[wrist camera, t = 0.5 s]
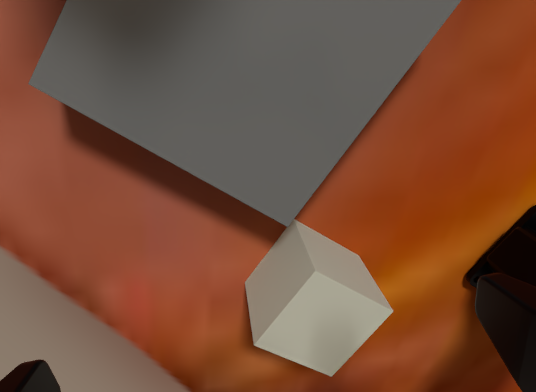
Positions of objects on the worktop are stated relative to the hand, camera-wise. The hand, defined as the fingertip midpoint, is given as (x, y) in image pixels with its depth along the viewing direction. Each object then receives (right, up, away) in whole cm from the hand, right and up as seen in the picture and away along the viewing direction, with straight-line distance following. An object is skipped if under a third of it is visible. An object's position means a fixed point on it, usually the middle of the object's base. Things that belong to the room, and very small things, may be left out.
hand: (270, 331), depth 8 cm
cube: (+2, -2, +15) cm, 16 cm away
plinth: (-1, +10, +9) cm, 14 cm away
